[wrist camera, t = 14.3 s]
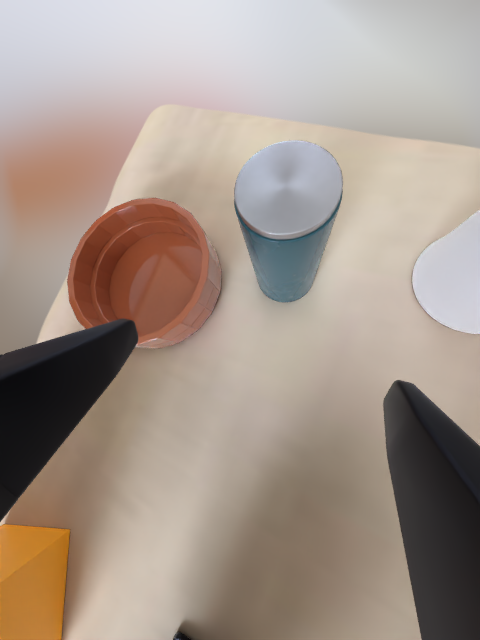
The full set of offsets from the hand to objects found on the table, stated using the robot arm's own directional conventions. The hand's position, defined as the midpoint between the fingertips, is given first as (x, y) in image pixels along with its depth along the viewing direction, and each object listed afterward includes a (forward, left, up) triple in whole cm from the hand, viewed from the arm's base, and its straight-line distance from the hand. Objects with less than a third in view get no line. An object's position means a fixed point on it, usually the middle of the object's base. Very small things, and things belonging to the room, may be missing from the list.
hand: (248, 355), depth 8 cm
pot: (+3, +13, -13) cm, 19 cm away
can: (+8, +1, -13) cm, 16 cm away
